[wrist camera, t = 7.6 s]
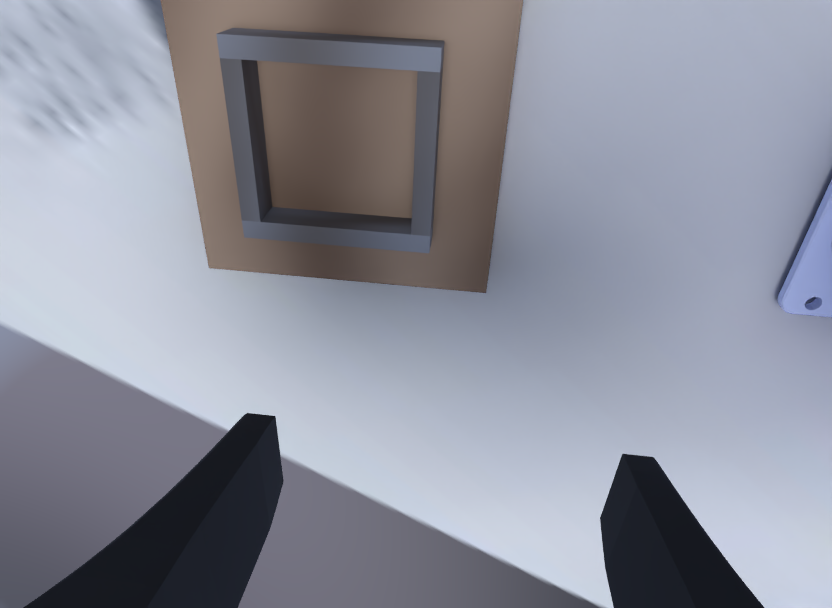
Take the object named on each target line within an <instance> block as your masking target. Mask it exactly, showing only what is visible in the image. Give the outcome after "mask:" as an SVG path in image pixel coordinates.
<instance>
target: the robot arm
mask: <svg viewBox="0 0 832 608" xmlns="http://www.w3.org/2000/svg"><path fill="white" fill-rule="evenodd" d="M812 297H816V299H815V300H814V301H813V302H811V303H809V304H805V303H806V301H807V300H808V299H810V298H812ZM778 303H779V305H780V307H781V308H782V309H783V310H784V311H785V312H787V313H791V314H801V315H812V316H823V317H832V180H831V182H830V184H829V186H828V188H827V191H826V193H825V195H824V197H823V199H822V202H821V204H820V206H819V208H818V210H817V212H816V215H815V217H814V219H813V221H812V223H811V226H810V228H809V230H808V232H807V234H806V236H805V239H804V241H803V243H802V245H801V247H800V250H799V252H798V254H797V256H796V258H795V261H794V263H793V265H792V267H791V269H790V271H789V274H788V276H787V278H786V280H785V282H784V285H783V287H782V289H781V291H780V293H779V295H778ZM282 485H283V475H282V466H281V459H280V450H279V442H278V434H277V426H276V418H275V416H269V415H260V414H251V413H247V414H245V415H244V416H243V417H242V418H241V419H240V420H239V421H238V422H237V423H236V424H235V425H234V426H233V427H232V428H231V429H230V431H229V432H228V433H227V434H226V435H225V436H224V437H223V438H222V439H221V440H220V441H219V442H218V443H217V444H216V445H215V447H214V448H213V449H212V450H211V451H210V452H209V453H208V454H207V455H206V456H205V457H204V458H203V459H202V460H201V461H200V462H199V463H198V464H197V465H196V466H195V467H194V468H193V469H192V470H191V471H190V472H189V473H188V474H187V475H186V476H185V477H184V478H183V479H181V480H180V482H178V483H177V484H176V486H174V487H173V488H172V489H171V490H170V491H169V492H168V493H167V494H166V495H165V496H164V497H163V498H162V499H160V500H159V501H158V502H157V503H156V504H155V505H154V506H153V507H152V508H150V509H149V510H148V511H147V512H146V513H145V514H144V515H143V516H142V517H141V518H139V519H138V520H137V521H136V522H135V523H134V524H133V525H132V526H130V527H129V528H128V529H127V530H126V531H124V532H123V533H122V534H121V535H120V536H118V537H117V538H116V539H115V540H114V541H112V542H111V543H110V544H109V545H107V546H106V547H105V548H104V549H103V550H101V551H100V552H99V553H97V554H96V555H95V556H94V557H92V558H91V559H90V560H89V561H87V562H86V563H85V564H83V565H82V566H81V567H79V568H78V569H77V570H75V571H74V572H73V573H71V574H70V575H69V576H67V577H66V578H64V579H63V580H62V581H60V582H59V583H58V584H56V585H55V586H54V587H52V588H51V589H49V590H48V591H47V592H45V593H44V594H42V595H41V596H40V597H38V598H37V599H35V600H34V601H32V602H31V603H29V604H28V605H27V606H25V607H24V608H238V605H239V603H240V600H241V598H242V596H243V593H244V591H245V588H246V586H247V584H248V581H249V579H250V576H251V574H252V572H253V569H254V567H255V564H256V562H257V559H258V557H259V554H260V552H261V550H262V547H263V544H264V542H265V540H266V537H267V535H268V532H269V530H270V527H271V524H272V520H273V517H274V513H275V510H276V507H277V503H278V499H279V495H280V492H281V488H282ZM600 520H601V531H602V542H603V551H604V560H605V569H606V573H607V578H608V583H609V587H610V592H611V597H612V601H613V606H614V608H764V607H763V605H762V604H761V603H760V602H759V601H758V599H757V598H756V597H755V596H754V594H753V593H752V592H751V591H750V589H749V588H748V587H747V586H746V585H745V583H744V582H743V581H742V580H741V578H740V577H739V576H738V574H737V573H736V572H735V571H734V569H733V568H732V567H731V565H730V564H729V563H728V561H727V560H726V559H725V557H724V556H723V555H722V553H721V552H720V551H719V549H718V548H717V547H716V545H715V544H714V543H713V541H712V540H711V539H710V537H709V536H708V535H707V533H706V532H705V531H704V529H703V528H702V526H701V525H700V524H699V522H698V521H697V519H696V518H695V516H694V515H693V514H692V512H691V511H690V509H689V508H688V506H687V505H686V504H685V502H684V501H683V499H682V498H681V496H680V495H679V493H678V492H677V491H676V489H675V488H674V486H673V485H672V483H671V482H670V480H669V479H668V477H667V476H666V474H665V473H664V471H663V470H662V468H661V467H660V465H659V464H658V463H657V461H656V460H655V459H654V457H647V456H638V455H628V454H622V457H621V460H620V463H619V465H618V468H617V471H616V474H615V477H614V480H613V483H612V486H611V489H610V491H609V494H608V497H607V500H606V503H605V506H604V509H603V512H602V515H601V517H600Z"/></svg>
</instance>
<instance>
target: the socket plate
mask: <svg viewBox="0 0 832 608" xmlns="http://www.w3.org/2000/svg"><path fill="white" fill-rule="evenodd" d="M161 5H162V10H163V16H164V21H165V27H166V32H167V38H168V43H169V49H170V54H171V60H172V66H173V71H174V77H175V82H176V88H177V93H178V99H179V104H180V110H181V115H182V121H183V127H184V132H185V138H186V143H187V149H188V154H189V160H190V165H191V171H192V176H193V182H194V188H195V193H196V199H197V204H198V210H199V215H200V221H201V226H202V232H203V237H204V243H205V249H206V254H207V260H208V265H209V268H215V269H226V270H237V271H248V272H259V273H270V274H281V275H292V276H304V277H315V278H326V279H337V280H348V281H359V282H370V283H381V284H392V285H403V286H414V287H425V288H437V289H448V290H459V291H470V292H481V293H486V289H487V281H488V274H489V266H490V258H491V250H492V242H493V234H494V226H495V218H496V211H497V203H498V195H499V187H500V179H501V171H502V163H503V155H504V147H505V140H506V132H507V124H508V116H509V108H510V100H511V92H512V84H513V77H514V69H515V61H516V53H517V45H518V37H519V29H520V21H521V14H522V6H523V0H161Z"/></svg>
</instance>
